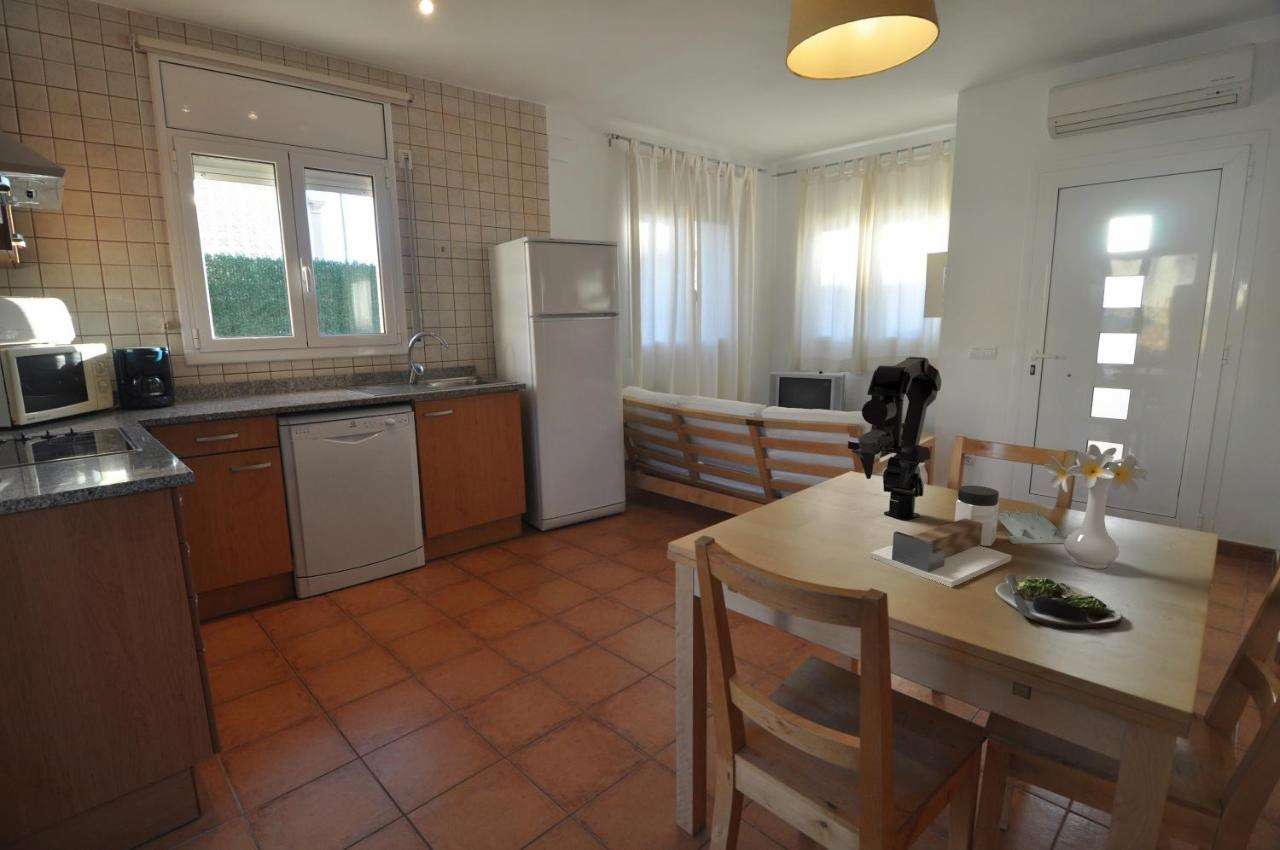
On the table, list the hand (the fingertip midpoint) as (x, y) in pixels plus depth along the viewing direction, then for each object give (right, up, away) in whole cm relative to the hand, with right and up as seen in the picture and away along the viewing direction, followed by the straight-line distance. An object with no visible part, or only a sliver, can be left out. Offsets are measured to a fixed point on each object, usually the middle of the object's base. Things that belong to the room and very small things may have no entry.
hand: (885, 482), depth 146 cm
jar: (+19, -13, -4) cm, 23 cm away
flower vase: (+35, -15, -19) cm, 43 cm away
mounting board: (+5, -15, -16) cm, 22 cm away
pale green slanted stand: (+34, -13, -1) cm, 36 cm away
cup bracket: (-2, -15, -20) cm, 25 cm away
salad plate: (+15, -19, -38) cm, 45 cm away
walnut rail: (+7, -14, -15) cm, 21 cm away
